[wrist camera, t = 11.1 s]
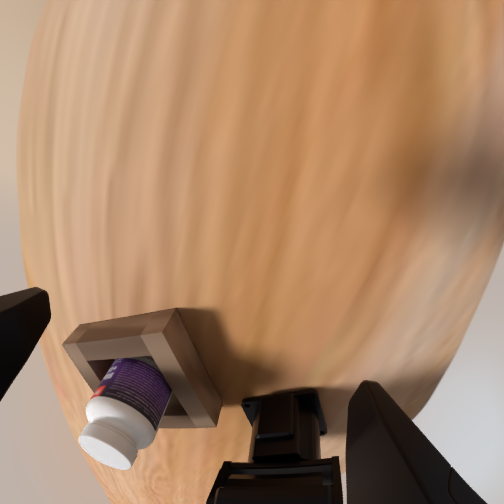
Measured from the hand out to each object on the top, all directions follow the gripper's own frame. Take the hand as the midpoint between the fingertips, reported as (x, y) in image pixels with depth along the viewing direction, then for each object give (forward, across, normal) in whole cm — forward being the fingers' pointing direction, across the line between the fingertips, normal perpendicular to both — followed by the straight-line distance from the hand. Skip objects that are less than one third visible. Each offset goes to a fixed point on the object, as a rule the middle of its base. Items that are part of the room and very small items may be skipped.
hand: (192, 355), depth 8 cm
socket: (+12, +5, +15) cm, 20 cm away
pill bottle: (+13, +5, +15) cm, 20 cm away
